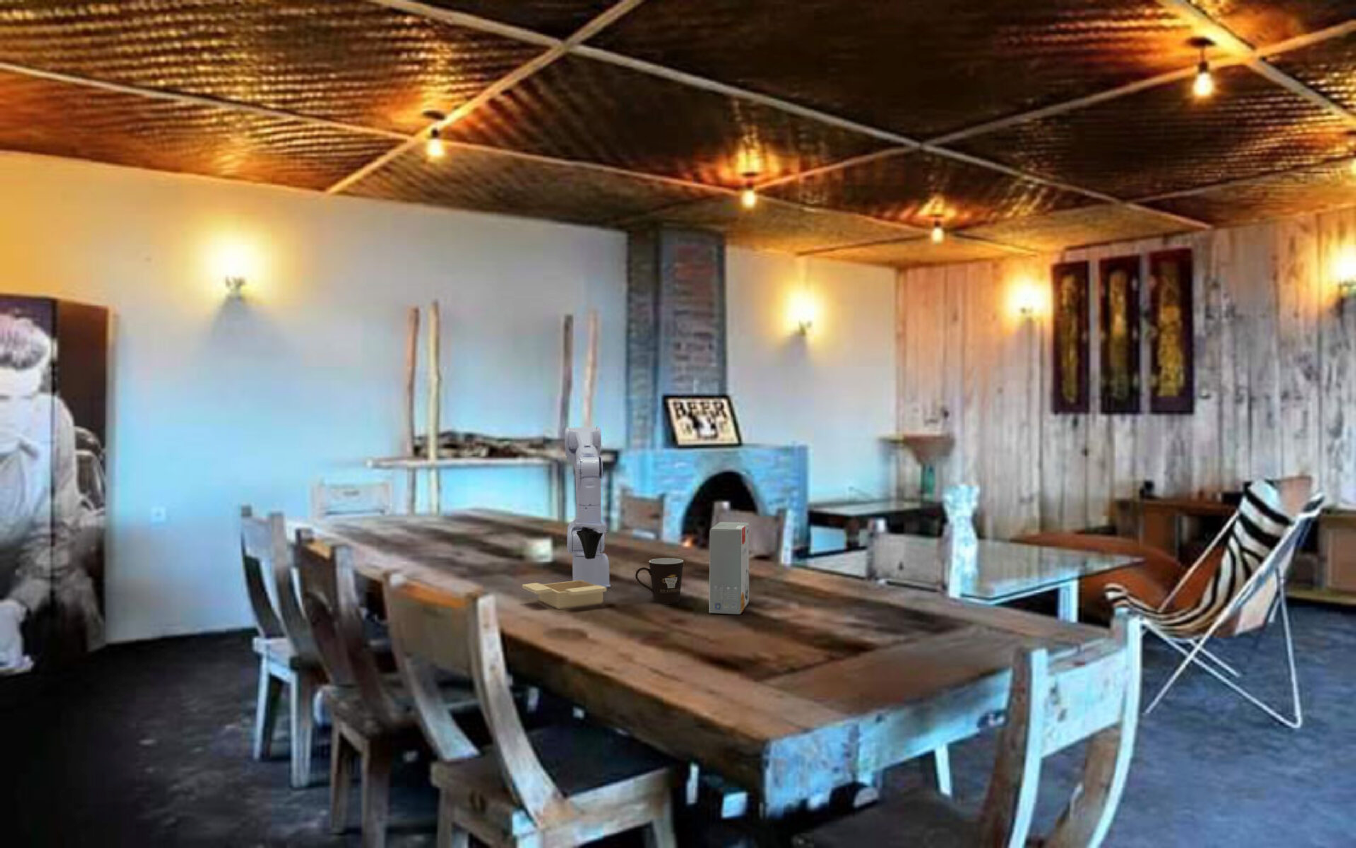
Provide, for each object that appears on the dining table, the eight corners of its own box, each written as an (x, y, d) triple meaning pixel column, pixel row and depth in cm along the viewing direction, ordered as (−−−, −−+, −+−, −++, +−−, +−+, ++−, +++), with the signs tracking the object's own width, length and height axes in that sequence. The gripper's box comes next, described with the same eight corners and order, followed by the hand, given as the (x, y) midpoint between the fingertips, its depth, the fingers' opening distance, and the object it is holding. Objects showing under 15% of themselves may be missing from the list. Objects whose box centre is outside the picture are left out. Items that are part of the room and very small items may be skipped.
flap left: (606, 588, 227) (606, 591, 227) (599, 585, 231) (599, 588, 231) (572, 592, 223) (572, 595, 223) (565, 589, 226) (565, 592, 226)
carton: (582, 595, 243) (581, 580, 243) (603, 603, 233) (602, 587, 232) (538, 600, 237) (538, 584, 236) (558, 609, 226) (558, 592, 226)
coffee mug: (685, 597, 239) (685, 558, 239) (682, 604, 230) (681, 564, 230) (639, 597, 240) (639, 558, 240) (635, 604, 232) (634, 563, 231)
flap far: (521, 584, 233) (522, 587, 233) (536, 590, 225) (536, 594, 225) (537, 582, 235) (537, 585, 235) (551, 588, 227) (551, 591, 227)
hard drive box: (741, 615, 218) (740, 529, 218) (708, 614, 220) (708, 529, 219) (749, 601, 234) (749, 521, 233) (719, 600, 235) (718, 520, 235)
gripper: (562, 503, 241) (563, 556, 241) (587, 508, 229) (588, 564, 229) (587, 501, 245) (588, 553, 245) (613, 506, 232) (614, 561, 233)
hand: (590, 558), depth 237 cm, fingers closed
